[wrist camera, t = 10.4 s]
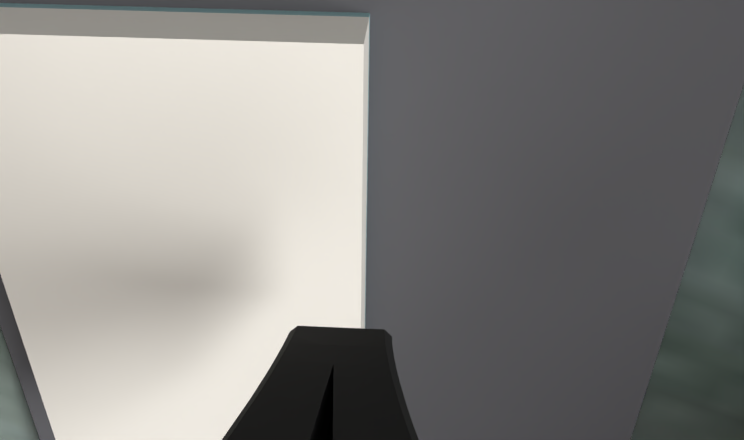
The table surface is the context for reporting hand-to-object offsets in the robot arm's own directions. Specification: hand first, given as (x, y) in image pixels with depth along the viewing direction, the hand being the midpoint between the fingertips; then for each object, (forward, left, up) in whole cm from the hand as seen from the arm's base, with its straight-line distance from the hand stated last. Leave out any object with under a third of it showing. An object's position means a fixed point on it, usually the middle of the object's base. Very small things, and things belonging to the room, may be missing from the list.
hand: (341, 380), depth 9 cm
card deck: (0, 0, -3) cm, 3 cm away
